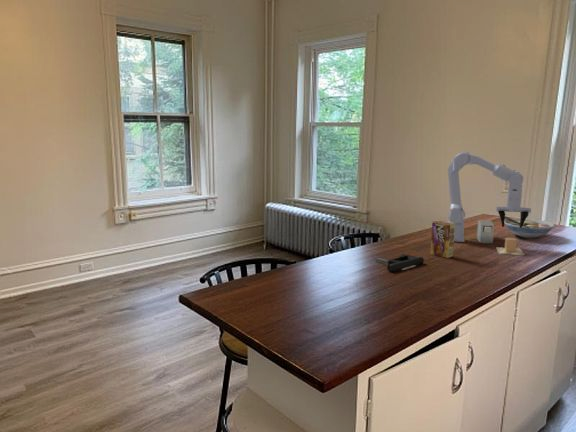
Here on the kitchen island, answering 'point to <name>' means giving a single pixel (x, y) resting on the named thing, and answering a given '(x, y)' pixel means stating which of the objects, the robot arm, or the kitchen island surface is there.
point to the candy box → (442, 238)
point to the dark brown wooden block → (485, 236)
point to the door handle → (401, 262)
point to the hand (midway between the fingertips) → (511, 226)
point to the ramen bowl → (528, 227)
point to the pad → (518, 252)
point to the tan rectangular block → (510, 244)
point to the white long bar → (487, 228)
